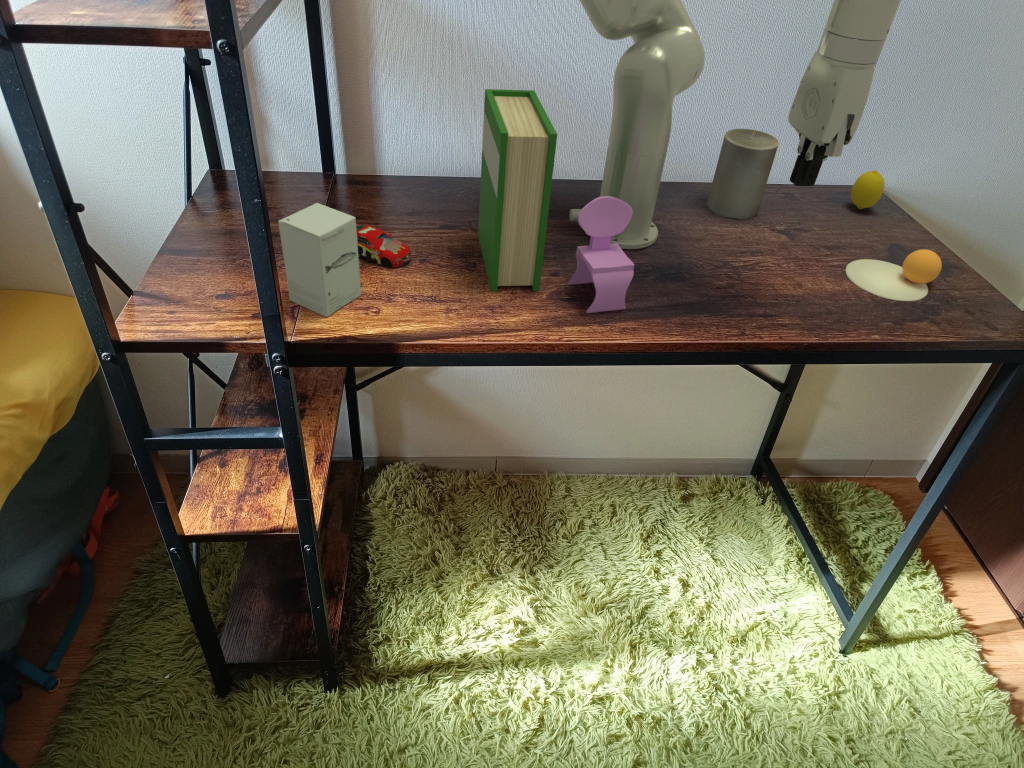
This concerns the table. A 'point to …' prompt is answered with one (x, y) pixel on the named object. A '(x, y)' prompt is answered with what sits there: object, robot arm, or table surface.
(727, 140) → the pillar candle
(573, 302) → the table surface
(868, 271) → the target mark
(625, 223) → the toy chair
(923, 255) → the ball
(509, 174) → the hardback book
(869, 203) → the lemon
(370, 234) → the race car
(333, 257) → the supplement box
